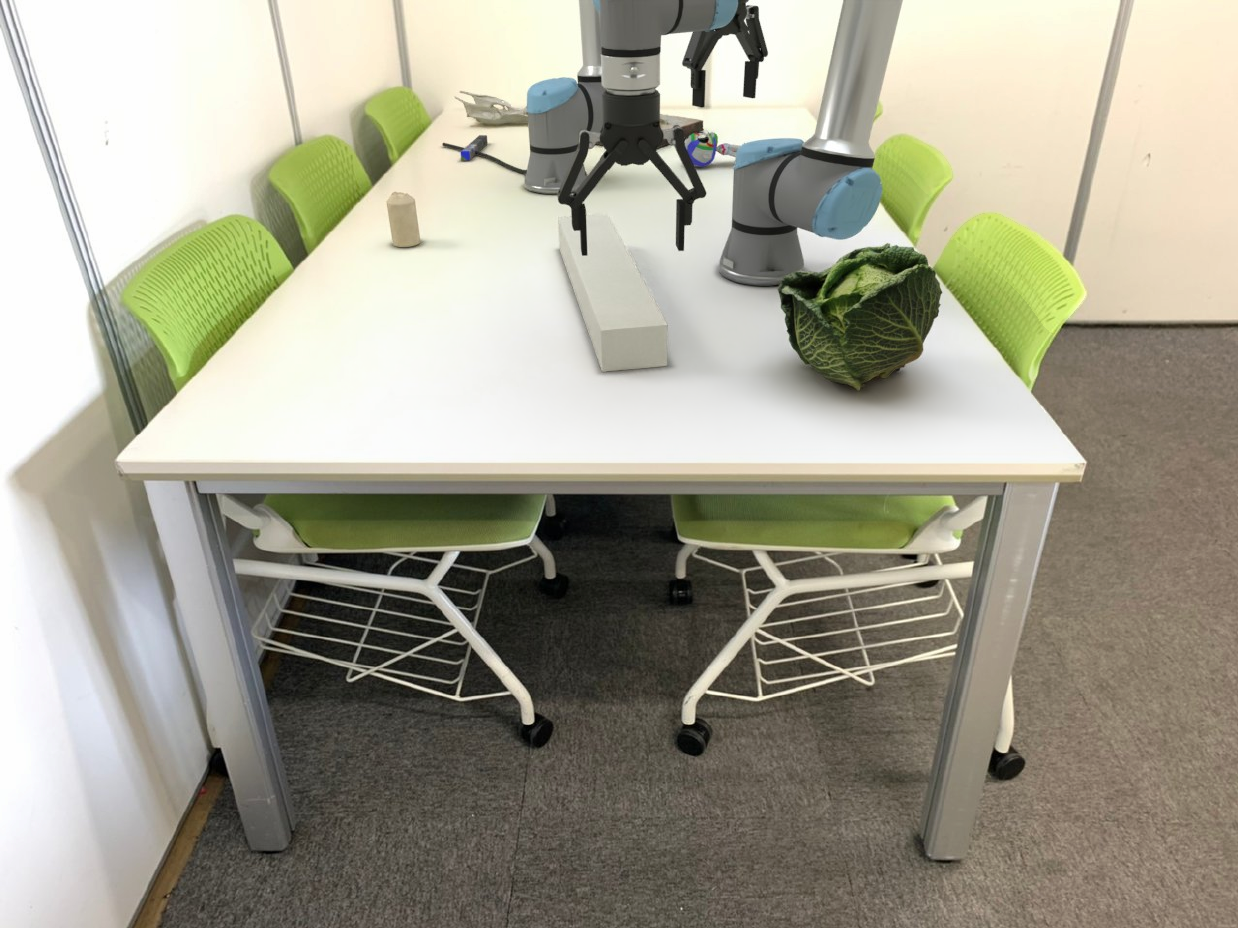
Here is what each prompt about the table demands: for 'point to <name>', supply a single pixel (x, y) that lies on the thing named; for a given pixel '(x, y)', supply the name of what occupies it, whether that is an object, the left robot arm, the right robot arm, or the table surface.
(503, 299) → the table surface
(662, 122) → the plaque
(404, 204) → the candle
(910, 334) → the vegetable
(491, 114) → the anatomical model
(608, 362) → the slab
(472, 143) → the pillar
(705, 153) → the toy
